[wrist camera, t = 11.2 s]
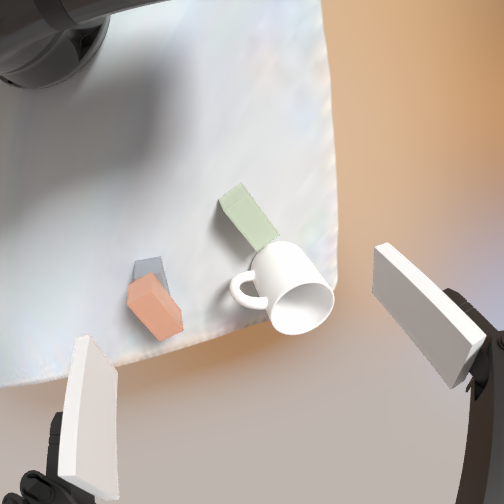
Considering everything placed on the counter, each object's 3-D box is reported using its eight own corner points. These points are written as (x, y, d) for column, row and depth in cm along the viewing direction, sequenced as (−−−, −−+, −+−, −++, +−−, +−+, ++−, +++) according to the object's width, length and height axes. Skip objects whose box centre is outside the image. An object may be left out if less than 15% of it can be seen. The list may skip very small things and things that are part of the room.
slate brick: (135, 260, 40) (133, 277, 37) (160, 256, 41) (160, 272, 38) (147, 301, 44) (147, 320, 41) (171, 297, 44) (172, 315, 41)
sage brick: (218, 198, 39) (223, 211, 36) (241, 181, 39) (248, 192, 35) (248, 237, 43) (256, 251, 40) (270, 221, 43) (279, 235, 39)
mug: (221, 292, 46) (236, 342, 37) (224, 241, 42) (241, 286, 33) (298, 286, 49) (326, 330, 41) (307, 238, 45) (341, 278, 37)
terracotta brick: (128, 284, 37) (126, 304, 34) (152, 271, 37) (151, 291, 34) (158, 320, 41) (159, 341, 38) (180, 309, 41) (183, 330, 38)
